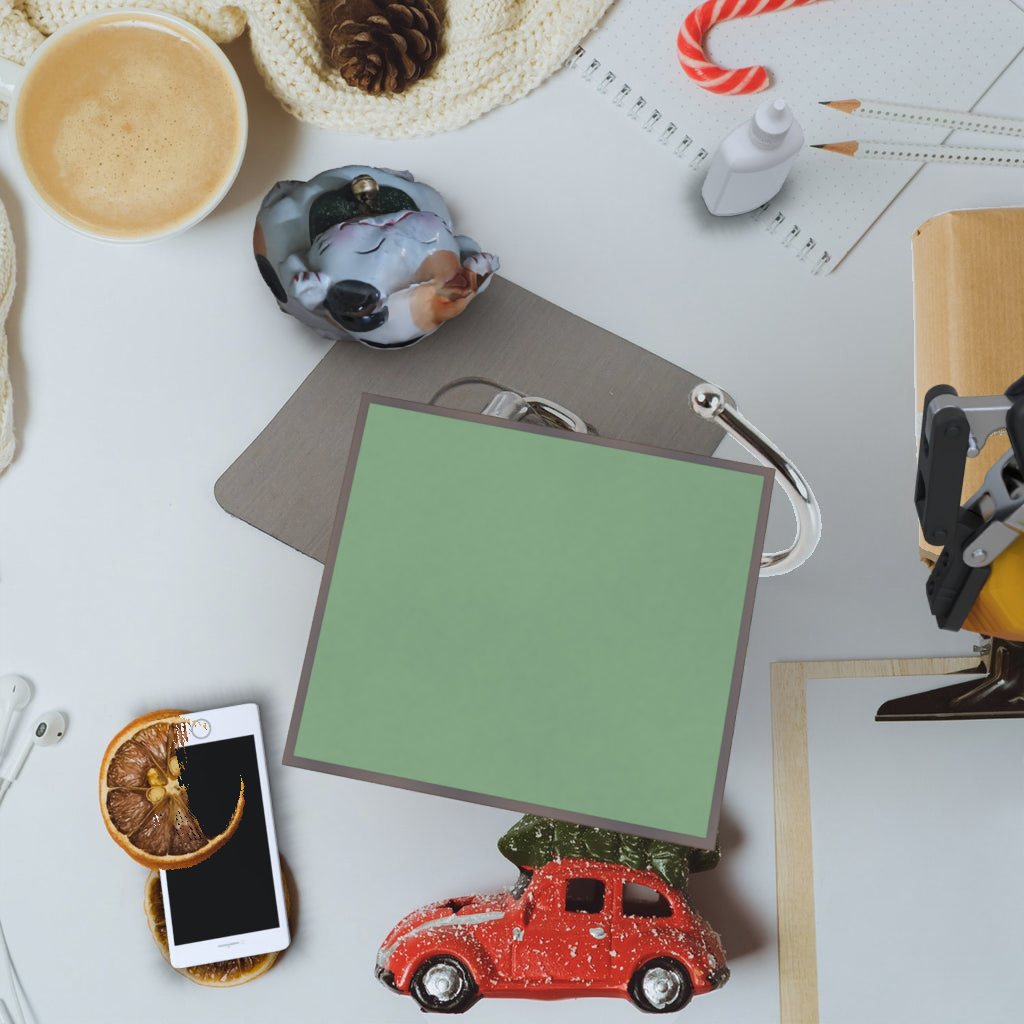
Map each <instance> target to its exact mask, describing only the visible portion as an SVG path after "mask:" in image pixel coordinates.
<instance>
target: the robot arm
mask: <svg viewBox="0 0 1024 1024" xmlns="http://www.w3.org/2000/svg"><path fill="white" fill-rule="evenodd" d="M1003 429H1005V431H1006V434H1007V438H1008V439H1009V443H1010V448H1009V449H1007V450H1006V452H1005V453H1003V454H1002V456H1001V457H1000V458H999V459H998V460H996V461H995V462H994V464H992V465H991V467H990V468H989V469H988V470H987V472H986V473H985V475H984V479H983V483H982V485H981V486H980V487H979V488H978V490H976V491H975V492H974V494H972V495H971V496H970V497H969V498H968V499H967V500H966V501H965V503H963V504H962V505H961V502H962V496H963V495H962V494H963V488H964V487H963V486H964V480H965V473H966V465H967V458H968V459H974V458H977V457H978V456H979V455H980V452H981V451H982V450H983V449H984V448H985V446H986V443H987V440H988V438H989V437H990V436H991V435H992V434H993V433H995V432H997V431H1000V430H1003ZM913 502H914V507H915V510H916V513H917V517H918V522H919V525H920V529H921V532H922V536H923V539H924V542H926V543H927V544H928V545H930V546H933V547H942V549H941V552H940V553H939V556H938V558H937V560H936V561H935V564H934V567H933V568H932V570H931V572H930V574H929V576H928V578H927V580H926V582H925V594H926V595H925V596H926V599H927V602H928V606H929V610H930V614H931V616H935V619H936V624H937V627H938V629H939V630H943V631H948V632H954V633H959V632H960V630H961V627H962V625H963V623H964V621H965V619H966V618H967V616H968V614H969V612H970V610H971V608H972V606H973V604H974V603H975V601H976V599H977V597H978V595H979V593H980V591H981V590H982V588H983V586H984V584H985V582H986V580H987V578H988V576H989V575H990V573H991V568H990V565H989V564H990V563H991V562H992V561H993V560H994V559H995V558H996V557H997V556H999V555H1000V554H1001V553H1002V552H1003V551H1004V550H1005V549H1006V548H1007V547H1008V546H1009V545H1010V544H1011V543H1012V542H1014V541H1015V540H1016V539H1017V538H1018V537H1019V536H1020V535H1022V534H1024V374H1022V375H1021V376H1020V377H1019V378H1018V379H1016V380H1015V381H1014V382H1012V383H1011V384H1010V385H1009V386H1008V387H1007V389H1006V390H1005V391H1004V393H1003V394H994V395H993V394H992V395H991V394H990V395H970V396H959V393H958V391H957V389H956V388H955V387H954V386H952V385H950V384H945V383H940V384H936V385H934V386H932V387H931V388H929V389H928V390H927V391H926V393H925V395H924V399H923V409H922V417H921V429H920V439H919V448H918V458H917V467H916V477H915V487H914V497H913Z"/></svg>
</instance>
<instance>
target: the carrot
mask: <svg viewBox="0 0 1024 1024" xmlns="http://www.w3.org/2000/svg"><path fill="white" fill-rule="evenodd" d="M989 565H990V568H991V573H990V575H989V576H988V578H987V580H986V582H985V584H984V586H983V588H982V590H981V591H980V593H979V595H978V597H977V599H976V601H975V603H974V604H973V606H972V608H971V610H970V612H969V614H968V616H967V618H966V619H965V621H964V623H963V625H962V627H961V629H962V630H965V631H968V632H970V633H971V632H972V633H976V634H980V635H985V636H988V637H994V638H998V639H1002V640H1007V641H1013V642H1024V534H1022V535H1020V536H1019V537H1018V538H1017V539H1016V540H1015V541H1014V542H1012V543H1011V544H1010V545H1009V546H1008V547H1007V548H1006V549H1005V550H1004V551H1003V552H1002V553H1001V554H1000V555H999V556H997V557H996V558H995V559H994V560H993V561H992V562H991V563H990V564H989ZM961 629H960V630H961Z"/></svg>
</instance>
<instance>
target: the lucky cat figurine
mask: <svg viewBox="0 0 1024 1024" xmlns="http://www.w3.org/2000/svg"><path fill="white" fill-rule="evenodd" d="M252 247H253V256H254V260H255V262H256V265H257V267H258V271H259V273H260V275H261V277H262V279H263V281H264V283H265V284H266V285H267V286H268V287H267V288H269V290H270V292H271V293H272V295H273V296H274V298H275V301H276V304H277V306H278V307H279V310H280V311H281V312H283V313H284V314H287V315H290V316H292V317H294V318H295V319H297V320H298V321H299V322H301V323H302V324H304V325H306V326H308V327H309V328H311V329H312V330H313V331H314V332H315V333H316V334H317V335H319V336H320V337H321V339H325V340H329V341H336V342H337V341H340V342H342V341H347V342H348V341H349V342H350V341H356V342H359V343H361V344H362V345H364V346H366V347H368V348H372V349H375V350H387V351H397V350H402V349H404V348H409V347H412V346H415V345H416V344H418V343H419V342H420V341H422V340H423V339H425V338H427V337H429V336H431V335H433V334H434V333H435V332H436V331H438V329H439V328H440V327H441V326H442V325H443V324H444V323H445V322H447V321H448V320H451V319H453V318H456V317H457V316H459V315H461V314H462V313H463V312H464V311H465V310H466V309H467V306H468V305H469V303H470V302H471V301H472V300H473V299H474V298H475V297H477V295H479V294H481V293H482V292H485V290H486V289H487V288H488V287H489V285H490V283H491V280H492V277H493V276H494V274H495V273H496V272H497V271H498V270H499V269H500V268H501V264H500V261H499V260H500V256H498V255H497V254H496V255H493V254H491V253H489V252H483V250H482V248H481V246H480V244H479V243H478V242H477V241H476V240H474V239H473V238H472V237H471V236H467V235H462V234H459V235H456V233H455V228H454V222H453V220H452V216H451V213H450V211H449V208H448V205H447V204H446V200H445V199H444V197H443V195H442V194H441V193H440V192H439V191H438V190H436V189H435V188H434V187H432V186H431V185H429V184H426V183H423V182H421V181H415V176H414V175H413V173H412V172H410V171H409V169H406V170H405V169H404V170H396V169H392V168H389V167H377V166H374V167H373V166H370V165H363V164H362V165H361V164H348V165H343V166H341V167H335V168H330V169H327V170H323V171H321V172H320V173H318V174H316V175H314V176H313V177H312V178H310V179H308V180H307V181H305V180H304V181H303V180H297V179H291V180H290V179H286V180H280V181H279V180H278V181H276V182H275V184H273V186H272V188H271V189H270V190H269V191H268V192H267V194H265V196H264V197H263V199H262V202H261V204H260V208H259V210H258V212H257V213H256V218H255V222H254V228H253V232H252Z"/></svg>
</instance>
